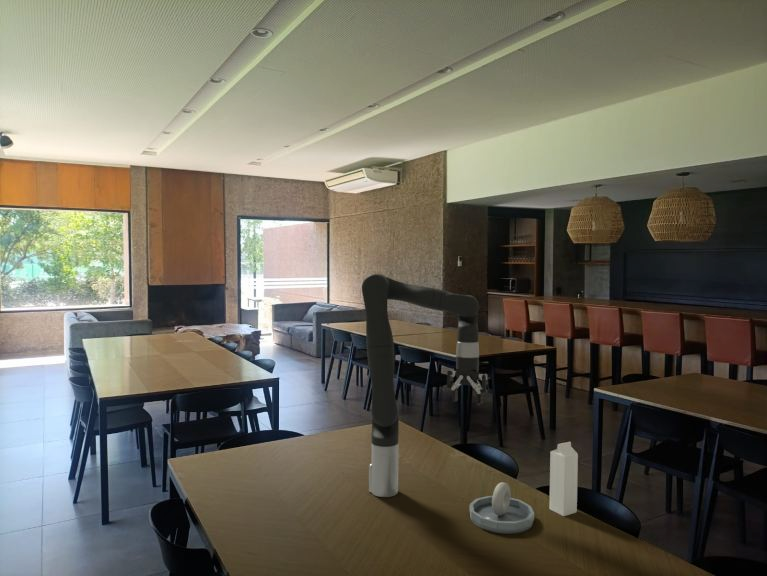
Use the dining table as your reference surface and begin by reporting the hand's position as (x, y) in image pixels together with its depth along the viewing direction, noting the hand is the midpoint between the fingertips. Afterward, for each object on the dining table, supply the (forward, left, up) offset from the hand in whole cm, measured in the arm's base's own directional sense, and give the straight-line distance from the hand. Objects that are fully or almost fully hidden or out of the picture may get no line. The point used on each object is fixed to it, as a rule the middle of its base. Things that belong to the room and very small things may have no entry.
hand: (467, 402), depth 187 cm
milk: (+30, +8, -32) cm, 45 cm away
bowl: (+16, -9, -32) cm, 37 cm away
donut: (+16, -9, -31) cm, 36 cm away
